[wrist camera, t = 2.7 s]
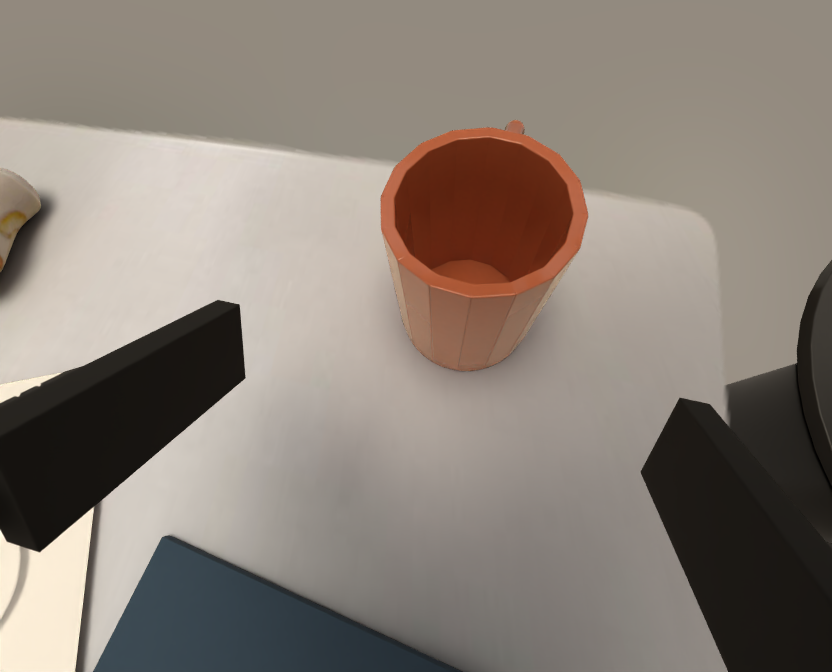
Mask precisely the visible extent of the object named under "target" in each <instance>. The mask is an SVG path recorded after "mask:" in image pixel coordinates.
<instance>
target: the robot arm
mask: <svg viewBox="0 0 832 672" xmlns="http://www.w3.org/2000/svg"><path fill="white" fill-rule="evenodd" d="M244 379H245V366H244V354H243V341H242V328H241V316H240V305H239V304H234V303H230V302H225V301H220V300H217V301H215V302H213V303H210V304H208V305H206V306H204V307H202V308H200V309H198V310H196V311H194V312H192V313H190V314H188V315H186V316H184V317H182V318H180V319H178V320H176V321H174V322H172V323H170V324H168V325H166V326H164V327H162V328H160V329H158V330H156V331H154V332H152V333H150V334H148V335H145V336H143V337H141V338H139V339H137V340H135V341H133V342H131V343H129V344H127V345H125V346H123V347H121V348H119V349H117V350H115V351H113V352H111V353H109V354H107V355H105V356H103V357H101V358H99V359H97V360H95V361H93V362H91V363H89V364H87V365H85V366H82V367H79V368H75V369H72V370H69V371H65V372H63V373H61V374H59V375H57V376H55V377H53V378H51V379H49V380H47V381H45V382H43V383H41V385H40V386H34V387H32V388H30V389H28V390H26V391H24V392H22V393H20V396H18V397H17V396H14V397H12V398H10V399H8V400H5V401H3V402H1V403H0V530H1V532H2V534H3V536H4V538H5V540H6V542H9V543H12V544H15V545H18V546H21V547H24V548H27V549H30V550H33V551H36V552H39V553H40V552H41V551H42V550H43V549H45V548H46V547H47V546H48V545H49V544H50V543H52V542H53V541H54V540H55V539H56V538H58V537H59V536H60V535H61V534H62V533H63V532H65V531H66V530H67V529H68V528H69V527H70V526H72V525H73V524H74V523H75V522H76V521H78V520H79V519H80V518H81V517H82V516H83V515H85V514H86V513H87V512H88V511H89V510H91V509H92V508H93V507H94V506H95V505H96V504H98V503H99V502H100V501H101V500H102V499H103V498H105V497H106V496H107V495H108V494H109V493H111V492H112V491H113V490H114V489H115V488H116V487H118V486H119V485H120V484H121V483H122V482H124V481H125V480H126V479H127V478H128V477H129V476H131V475H132V474H133V473H134V472H135V471H136V470H138V469H139V468H140V467H141V466H142V465H144V464H145V463H146V462H147V461H148V460H149V459H151V458H152V457H153V456H154V455H155V454H157V453H158V452H159V451H160V450H161V449H162V448H164V447H165V446H166V445H167V444H168V443H169V442H171V441H172V440H173V439H174V438H175V437H177V436H178V435H179V434H180V433H181V432H182V431H184V430H185V429H186V428H187V427H188V426H190V425H191V424H192V423H193V422H194V421H195V420H197V419H198V418H199V417H200V416H201V415H202V414H204V413H205V412H206V411H207V410H208V409H210V408H211V407H212V406H213V405H214V404H215V403H217V402H218V401H219V400H220V399H221V398H223V397H224V396H225V395H226V394H227V393H228V392H230V391H231V390H232V389H233V388H234V387H235V386H237V385H238V384H239V383H240V382H241V381H243V380H244ZM641 474H642V477H643V479H644V481H645V483H646V486H647V488H648V490H649V493H650V495H651V497H652V499H653V502H654V504H655V506H656V508H657V511H658V513H659V515H660V518H661V520H662V522H663V524H664V527H665V529H666V531H667V533H668V536H669V538H670V540H671V543H672V545H673V547H674V549H675V552H676V554H677V556H678V559H679V561H680V563H681V565H682V568H683V570H684V572H685V574H686V577H687V579H688V581H689V584H690V586H691V588H692V590H693V593H694V595H695V597H696V599H697V602H698V604H699V606H700V609H701V611H702V613H703V615H704V618H705V620H706V622H707V625H708V627H709V629H710V631H711V634H712V636H713V638H714V640H715V643H716V645H717V647H718V650H719V652H720V654H721V656H722V659H723V661H724V663H725V666H726V668H727V670H728V672H832V543H829V542H826V541H825V540H824V539H823V538H822V537H821V535H820V534H819V533H818V532H817V531H816V529H815V528H814V527H813V526H812V525H811V523H810V522H809V521H808V520H807V519H806V518H805V516H804V515H803V514H802V513H801V512H800V510H799V509H798V508H797V507H796V506H795V505H794V503H793V502H792V501H791V500H790V499H789V497H788V496H787V495H786V494H785V493H784V491H783V490H782V489H781V488H780V487H779V486H778V484H777V483H776V482H775V481H774V480H773V478H772V477H771V476H770V475H769V474H768V473H767V471H766V470H765V469H764V468H763V467H762V465H761V464H760V463H759V462H758V461H757V460H756V458H755V457H754V456H753V455H752V454H751V452H750V451H749V450H748V449H747V448H746V446H745V445H744V444H743V443H742V442H741V441H740V439H739V438H738V437H737V436H736V435H735V433H734V432H733V431H732V430H731V429H730V428H729V426H728V425H727V424H726V423H725V422H724V420H723V419H722V418H721V417H720V416H719V414H718V413H717V412H716V411H715V410H714V409H713V407H712V406H711V405H710V404H707V403H702V402H697V401H693V400H688V399H683V398H679V400H678V402H677V404H676V406H675V408H674V409H673V411H672V413H671V415H670V417H669V419H668V421H667V423H666V425H665V427H664V428H663V430H662V432H661V434H660V436H659V438H658V440H657V442H656V444H655V445H654V447H653V449H652V451H651V453H650V455H649V457H648V459H647V461H646V463H645V464H644V466H643V468H642V470H641Z"/></svg>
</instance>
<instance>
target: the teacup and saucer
mask: <svg viewBox="0 0 832 672" xmlns="http://www.w3.org/2000/svg"><path fill="white" fill-rule="evenodd" d="M21 562H22V553H21V546H18V545H15V544H12V543H9V542H6V540H5V538H4V536H3V534H2V532H1V530H0V621H1V620H2V618H3V616H4V615H5V613H6V611H7V609H8V607H9V605H10V603H11V601H12V599H13V596H14V594H15V591H16V588H17V585H18V581H19V577H20V571H21Z"/></svg>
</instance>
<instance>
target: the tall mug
mask: <svg viewBox="0 0 832 672" xmlns="http://www.w3.org/2000/svg"><path fill="white" fill-rule="evenodd" d="M587 219H588V211H587V207H586V203H585V198H584V194H583V190H582V186H581V183H580V180H579V179H578V177H577V176H576V175H575V174H574V172H573V171H572V170H571V169H570V167H569V166H568V165H567V164H566V162H565V161H564V160H563V158H562V157H561V156H560V155H559V154H558V153H556V152H555V151H553V150H551V149H550V148H548V147H546V146H544V145H542V144H541V143H539V142H538V141H536V140H534V139H533V138H531V137H529V136H526V135H524V125H523V124H522V123H521V122H520V121H518V120H513V121H511V122H509V123H508V124H507V126H506V127H505V130H501V129H497V128H489V127H488V128H476V129H464V130H454V131H453V130H452V131H450V132H448V133H445V134H443V135H440V136H438V137H435V138H433V139H430V140H428V141H426V142H423V143H421V145H418V146H417V147H416V148H415V149H414V150H413V151H412V152H411V153H409V154H408V155H407V156H406V157H405V158H404V159H403V160H402V161H401V162H399V163H398V164H397V165H396V166H395V168H394V169H393V171H392V174H391V176H390V178H389V180H388V182H387V184H386V186H385V188H384V191H383V193H382V195H381V231H382V235H383V239H384V244H385V248H386V252H387V256H388V261H389V265H390V269H391V274H392V278H393V282H394V287H395V291H396V295H397V299H398V304H399V308H400V312H401V317H402V321H403V324H404V326H405V329H406V331H407V334H408V336H409V338H410V340H411V341H412V343H413V345H414V346H415V347H416V348H417V350H418V351H419V352H420V353H421V354H422V355H424V356H425V357H426V358H428V359H429V360H430V361H432V362H434V363H436V364H438V365H440V366H443V367H445V368H449V369H453V370H460V371H473V370H480V369H484V368H487V367H490V366H492V365H495V364H497V363H498V362H500V361H502V360H503V359H505V358H506V357H507V356H509V355H510V354H511V353H512V352H513V351H514V350H515V348H516V347H517V345H518V344H519V343H520V342H521V341H522V339H523V338H524V337H525V335H526V333H527V332H528V330H529V329H530V327H531V326H532V324H533V322H534V321H535V319H536V318H537V316H538V314H539V313H540V311H541V310H542V308H543V307H544V305H545V303H546V302H547V300H548V299H549V297H550V295H551V294H552V292H553V291H554V289H555V287H556V286H557V284H558V283H559V281H560V280H561V278H562V276H563V275H564V273H565V272H566V270H567V268H568V267H569V265H570V264H571V262H572V261H573V259H574V257H575V256H576V254H577V253H578V251H579V249H580V247H581V243H582V239H583V235H584V231H585V227H586V223H587Z"/></svg>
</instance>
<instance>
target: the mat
mask: <svg viewBox="0 0 832 672" xmlns="http://www.w3.org/2000/svg"><path fill="white" fill-rule="evenodd" d="M93 672H462V671H460V670H458V669H456V668H454V667H451V666H449V665H447V664H445V663H443V662H441V661H438V660H436V659H434V658H432V657H430V656H428V655H426V654H423V653H421V652H419V651H417V650H415V649H413V648H411V647H408V646H406V645H404V644H402V643H400V642H398V641H395V640H393V639H391V638H389V637H387V636H385V635H383V634H380V633H378V632H376V631H374V630H372V629H370V628H367V627H365V626H363V625H361V624H359V623H357V622H355V621H352V620H350V619H348V618H346V617H344V616H342V615H339V614H337V613H335V612H333V611H331V610H329V609H327V608H324V607H322V606H320V605H318V604H316V603H314V602H312V601H309V600H307V599H305V598H303V597H301V596H299V595H296V594H294V593H292V592H290V591H288V590H286V589H284V588H281V587H279V586H277V585H275V584H273V583H271V582H268V581H266V580H264V579H262V578H260V577H258V576H256V575H253V574H251V573H249V572H247V571H245V570H243V569H240V568H238V567H236V566H234V565H232V564H230V563H228V562H225V561H223V560H221V559H219V558H217V557H215V556H213V555H210V554H208V553H206V552H204V551H202V550H200V549H197V548H195V547H193V546H191V545H189V544H187V543H185V542H182V541H180V540H178V539H176V538H174V537H172V536H169V535H168V536H164V537H162V539H161V541H160V543H159V544H158V546H157V548H156V550H155V552H154V554H153V556H152V558H151V560H150V562H149V564H148V566H147V568H146V570H145V572H144V574H143V576H142V578H141V580H140V581H139V583H138V585H137V587H136V589H135V591H134V593H133V595H132V597H131V599H130V601H129V603H128V605H127V607H126V609H125V611H124V613H123V615H122V617H121V618H120V620H119V622H118V624H117V626H116V628H115V630H114V632H113V634H112V636H111V638H110V640H109V642H108V644H107V646H106V648H105V650H104V652H103V653H102V655H101V657H100V659H99V661H98V663H97V665H96V667H95V669H94V671H93Z"/></svg>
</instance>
